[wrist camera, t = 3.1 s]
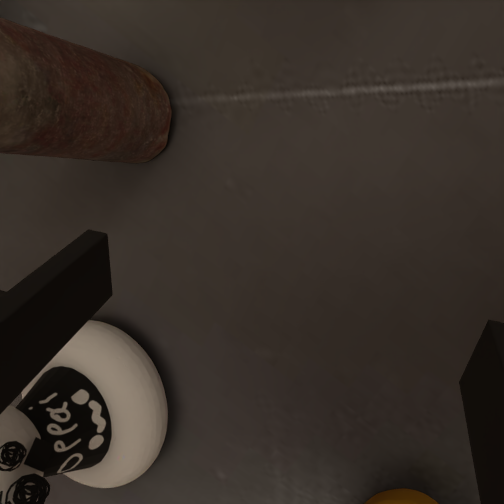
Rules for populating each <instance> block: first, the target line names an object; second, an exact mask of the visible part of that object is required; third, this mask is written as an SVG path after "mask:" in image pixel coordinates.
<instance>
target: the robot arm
mask: <svg viewBox="0 0 504 504" xmlns="http://www.w3.org/2000/svg"><path fill="white" fill-rule="evenodd" d="M111 296H112V283H111V271H110V260H109V248H108V236H107V234H106V233H102V232H97V231H93V230H87V231H86V232H84V233H83V234H82V235H81V236H79V237H78V238H77V239H75V240H74V241H73V242H71V243H70V244H69V245H68V246H66V247H65V248H64V249H62V250H61V251H60V252H58V253H57V254H56V255H54V256H53V257H52V258H51V259H49V260H48V261H47V262H45V263H44V264H43V265H41V266H40V267H39V268H38V269H36V270H35V271H34V272H32V273H31V274H30V275H28V276H27V277H26V278H24V279H23V280H22V281H21V282H19V283H18V284H17V285H15V286H14V287H13V288H11V289H10V290H9V291H8V292H5V291H1V290H0V414H1V413H2V412H3V411H4V410H5V409H6V408H7V407H8V406H9V405H10V404H11V403H12V402H13V400H14V399H15V398H16V397H17V396H18V395H19V394H20V393H21V392H22V391H23V390H24V389H25V388H26V387H27V385H28V384H29V383H30V382H31V381H32V380H33V379H34V378H35V377H36V376H37V375H38V374H39V373H40V372H41V371H42V369H43V368H44V367H45V366H46V365H47V364H48V363H49V362H50V361H51V360H52V359H53V358H54V357H55V356H56V355H57V353H58V352H59V351H60V350H61V349H62V348H63V347H64V346H65V345H66V344H67V343H68V342H69V341H70V340H71V338H72V337H73V336H74V335H75V334H76V333H77V332H78V331H79V330H80V329H81V328H82V327H83V326H84V325H85V324H86V322H87V321H88V320H89V319H90V318H91V317H92V316H93V315H94V314H95V313H96V312H97V311H98V310H99V309H100V308H101V306H102V305H103V304H104V303H105V302H106V301H107V300H108V299H109V298H110V297H111ZM459 384H460V389H461V395H462V400H463V406H464V412H465V417H466V423H467V428H468V434H469V440H470V445H471V451H472V456H473V462H474V468H475V473H476V479H477V484H478V490H479V496H480V501H481V504H504V323H501V322H497V321H492V320H488V322H487V324H486V326H485V328H484V330H483V332H482V335H481V337H480V339H479V341H478V343H477V345H476V347H475V349H474V352H473V354H472V356H471V358H470V360H469V362H468V364H467V366H466V369H465V371H464V373H463V375H462V377H461V379H460V381H459Z"/></svg>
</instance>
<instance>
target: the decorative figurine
mask: <svg viewBox="0 0 504 504" xmlns="http://www.w3.org/2000/svg"><path fill="white" fill-rule="evenodd" d="M167 422H168V407H167V400H166V395H165V391H164V387H163V384H162V381H161V378H160V376H159V374H158V371H157V369H156V367H155V365H154V364H153V362H152V360H151V359H150V357H149V356H148V355H147V353H146V352H145V351H144V349H143V348H142V347H141V346H140V345H139V344H138V343H137V342H136V341H135V340H134V339H132V338H131V337H130V336H129V335H128V334H126V333H125V332H123V331H122V330H120V329H118V328H117V327H114V326H112V325H109V324H107V323H104V322H100V321H93V320H88V321H87V322H86V324H85V325H84V326H83V327H82V328H81V329H80V330H79V331H78V332H77V333H76V334H75V335H74V336H73V337H72V338H71V340H70V341H69V342H68V343H67V344H66V345H65V346H64V347H63V348H62V349H61V350H60V351H59V352H58V353H57V355H56V356H55V357H54V358H53V359H52V360H51V361H50V362H49V363H48V364H47V365H46V366H45V367H44V368H43V369H42V371H41V372H40V373H39V374H38V375H37V376H36V377H35V378H34V379H33V380H32V381H31V382H30V383H29V384H28V385H27V387H26V388H25V389H24V390H23V391H22V401H21V402H20V403H19V404H18V406H17V407H16V408H15V407H12V406H10V405H9V406H8V407H7V408H6V409H5V410H4V411H3V412H2V413H1V414H0V504H44V502H45V499H46V497H47V496H48V495H49V492H50V485H49V483H48V482H47V480H46V479H45V478H43V477H47V476H52V475H57V474H62V473H63V474H65V475H66V476H68V477H69V478H71V479H73V480H75V481H77V482H79V483H82V484H85V485H88V486H91V487H98V488H113V487H118V486H121V485H124V484H127V483H129V482H132V481H133V480H135V479H136V478H138V477H139V476H140V475H142V474H143V473H144V472H145V471H146V470H147V469H148V468H149V467H150V466H151V465H152V464H153V462H154V461H155V459H156V458H157V456H158V454H159V452H160V450H161V447H162V445H163V443H164V440H165V435H166V431H167ZM42 487H43V489H42ZM47 487H48V491H47ZM46 493H47V494H46ZM38 496H39V497H38ZM37 498H38V501H36V500H37Z"/></svg>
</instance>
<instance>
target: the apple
mask: <svg viewBox="0 0 504 504" xmlns="http://www.w3.org/2000/svg"><path fill="white" fill-rule="evenodd" d="M364 504H439V503H438V502H436V501H435V500H433V499H432V498H431V497H429V496H428V495H426V494H424V493H422V492H419V491H417V490H412V489H406V488H400V489H391V490H388V491H384V492H381V493H378V494H376V495H374V496H373V497H372V498H370V499H369V500H368V501H367V502H365V503H364Z"/></svg>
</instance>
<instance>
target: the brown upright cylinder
mask: <svg viewBox="0 0 504 504" xmlns="http://www.w3.org/2000/svg"><path fill="white" fill-rule="evenodd" d="M171 114H172V110H171V106H170V102H169V97H168V95H167V93H166V92H165V90H164V88H163V86H162V85H161V83H160V82H159V81H158V80H157V79H156V78H155V77H154V76H152V75H151V74H150V73H149V72H148V71H146V70H145V69H143V68H141V67H139V66H137V65H135V64H132V63H129V62H126V61H123V60H120V59H117V58H114V57H112V56H109V55H106V54H103V53H100V52H97V51H95V50H92V49H89V48H86V47H83V46H80V45H77V44H74V43H71V42H68V41H65V40H63V39H60V38H57V37H54V36H51V35H48V34H45V33H43V32H40V31H37V30H34V29H31V28H28V27H25V26H22V25H19V24H16V23H14V22H11V21H8V20H6V19H3V18H0V153H5V154H22V155H35V156H49V157H61V158H74V159H84V160H93V161H110V162H126V163H144V162H147V161H150V160H151V159H153V158H154V157H155V156H157V155H158V154H159V153H160V152H161V151H162V150H163V149H164V147H165V146H166V143H167V139H168V132H169V127H170V121H171Z"/></svg>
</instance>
